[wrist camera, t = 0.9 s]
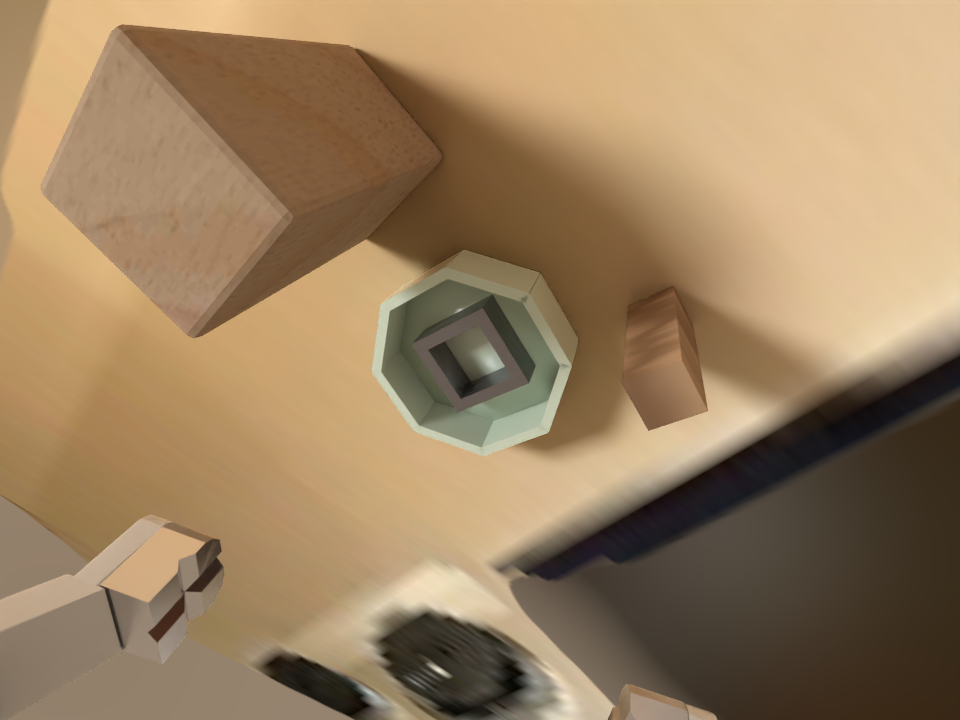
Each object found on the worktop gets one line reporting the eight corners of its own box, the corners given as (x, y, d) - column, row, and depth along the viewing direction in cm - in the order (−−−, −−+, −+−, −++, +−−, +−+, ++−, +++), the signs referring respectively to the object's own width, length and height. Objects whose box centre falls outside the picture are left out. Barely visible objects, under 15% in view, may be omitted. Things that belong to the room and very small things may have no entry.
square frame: (492, 294, 43) (482, 307, 41) (535, 365, 45) (528, 383, 43) (424, 329, 46) (411, 344, 44) (467, 394, 48) (457, 412, 46)
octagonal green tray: (511, 221, 41) (497, 237, 37) (604, 384, 45) (600, 414, 41) (365, 306, 48) (339, 327, 44) (457, 440, 52) (441, 471, 48)
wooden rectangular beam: (673, 286, 40) (681, 360, 30) (692, 326, 41) (708, 411, 30) (628, 306, 41) (621, 383, 31) (648, 344, 42) (648, 430, 32)
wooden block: (447, 156, 40) (297, 218, 23) (365, 241, 45) (191, 345, 28) (351, 42, 38) (110, 17, 21) (276, 143, 43) (32, 190, 26)
